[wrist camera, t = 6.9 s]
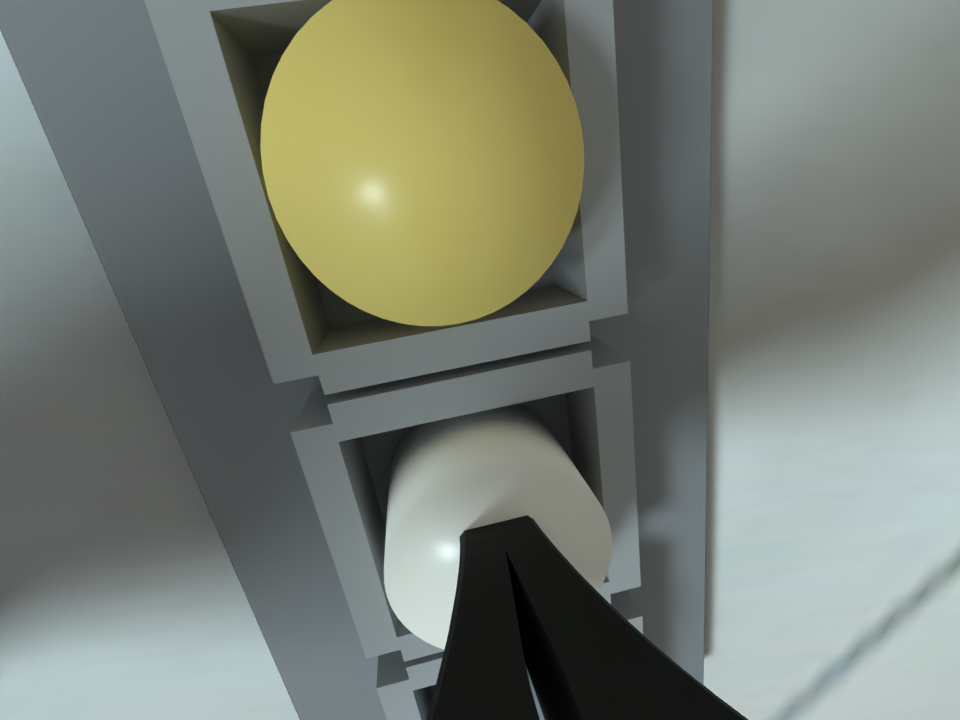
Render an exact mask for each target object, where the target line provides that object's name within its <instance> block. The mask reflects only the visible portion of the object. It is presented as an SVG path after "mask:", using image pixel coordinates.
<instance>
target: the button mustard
mask: <svg viewBox="0 0 960 720" xmlns="http://www.w3.org/2000/svg"><path fill="white" fill-rule="evenodd" d="M260 150H261V160H262V170H263V176H264V180H265V185H266V189H267V193H268V197H269V200H270V203H271V206H272V208H273V211H274V214H275V217H276V219H277V221H278V223H279V225H280V227H281V229H282V231H283V233H284V235H285V237H286V239H287V240H288V242H289V243H290V245H291V246H292V248H293V249H294V251H295V252H296V254H297V255H298V257H299V258H300V259H301V261H302V262H303V263H304V264H305V265H306V266H307V268H308V269H309V270H310V271H311V272H312V273H313V275H314V276H315V277H317V278H318V279H319V280H320V281H321V282H322V283H323V284H324V285H325V286H326V287H328V288H329V289H330V290H331V291H332V292H334V293H335V294H337V295H338V296H339V297H341V298H342V299H344V300H345V301H346V302H348V303H350V304H352V305H354V306H356V307H357V308H359V309H361V310H363V311H365V312H367V313H370V314H372V315H375V316H377V317H380V318H382V319H386V320H390V321H394V322H398V323H401V324H408V325H416V326H445V325H453V324H460V323H464V322H468V321H471V320H475V319H478V318H481V317H483V316H486V315H488V314H491V313H493V312H495V311H497V310H499V309H501V308H503V307H504V306H506V305H508V304H510V303H511V302H513V301H514V300H515V299H517V298H518V297H519V296H521V295H522V294H523V293H525V292H526V291H527V290H528V289H529V288H530V287H531V286H532V285H533V284H534V283H536V282H537V281H538V280H539V279H540V278H541V276H542V275H543V274H544V273H545V271H546V270H547V269H548V268H549V267H550V265H551V264H552V263H553V261H554V260H555V258H556V256H557V255H558V253H559V252H560V250H561V249H562V247H563V245H564V243H565V241H566V239H567V237H568V234H569V232H570V230H571V228H572V225H573V222H574V219H575V216H576V213H577V210H578V206H579V202H580V197H581V192H582V186H583V176H584V143H583V136H582V128H581V122H580V118H579V114H578V110H577V106H576V102H575V100H574V97H573V95H572V92H571V89H570V87H569V84H568V81H567V79H566V77H565V76H564V74H563V72H562V70H561V68H560V66H559V64H558V62H557V60H556V59H555V57H554V56H553V55H552V53H551V52H550V50H549V49H548V47H547V46H546V45H545V43H544V42H543V40H542V39H541V38H540V37H539V36H538V35H537V34H536V33H535V32H534V30H533V29H532V28H531V27H530V26H529V25H528V24H527V23H526V22H525V21H524V20H523V19H521V18H520V17H519V16H518V15H517V14H516V13H514V12H513V11H512V10H511V9H510V8H508V7H507V6H505V5H504V4H502V3H501V2H499V1H497V0H332V1H330V2H329V3H328V4H327V5H326V6H324V7H323V8H322V9H321V10H319V11H318V12H317V13H316V14H314V15H313V16H312V17H311V18H310V19H309V20H308V21H307V23H306V24H305V25H304V26H303V27H302V28H301V29H300V30H299V31H298V32H297V34H296V35H295V36H294V38H293V39H292V41H291V42H290V44H289V45H288V47H287V48H286V50H285V52H284V53H283V55H282V57H281V59H280V61H279V63H278V65H277V67H276V69H275V72H274V74H273V76H272V79H271V82H270V85H269V89H268V92H267V95H266V98H265V103H264V109H263V116H262V122H261V145H260Z"/></svg>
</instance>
